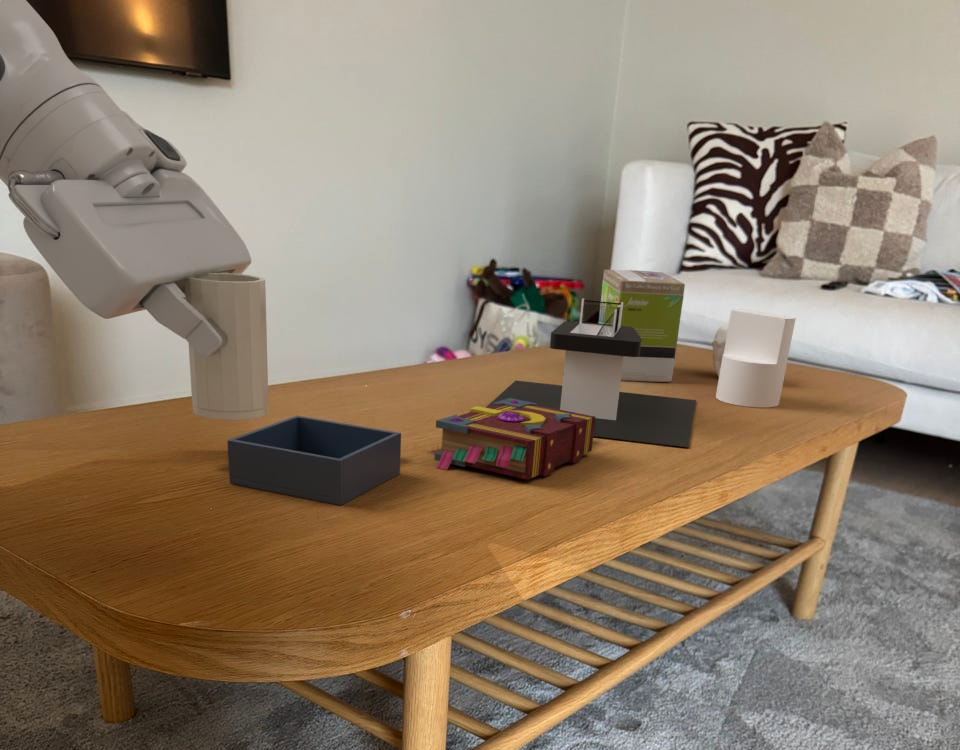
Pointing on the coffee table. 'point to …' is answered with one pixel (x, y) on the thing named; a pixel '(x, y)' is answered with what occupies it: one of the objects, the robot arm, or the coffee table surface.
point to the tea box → (646, 319)
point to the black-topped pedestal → (606, 384)
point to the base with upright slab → (754, 358)
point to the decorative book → (515, 438)
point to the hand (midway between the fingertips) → (237, 342)
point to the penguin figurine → (719, 346)
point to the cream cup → (231, 347)
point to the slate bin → (314, 459)
